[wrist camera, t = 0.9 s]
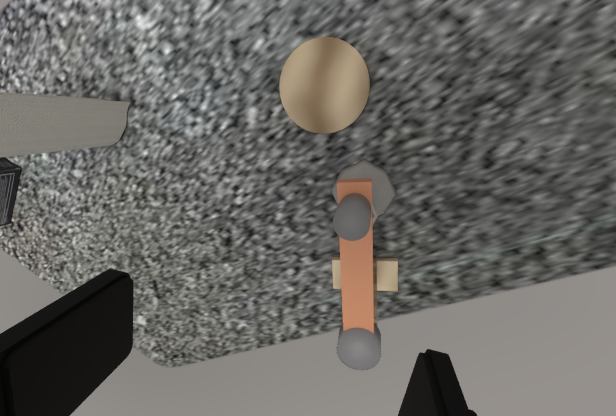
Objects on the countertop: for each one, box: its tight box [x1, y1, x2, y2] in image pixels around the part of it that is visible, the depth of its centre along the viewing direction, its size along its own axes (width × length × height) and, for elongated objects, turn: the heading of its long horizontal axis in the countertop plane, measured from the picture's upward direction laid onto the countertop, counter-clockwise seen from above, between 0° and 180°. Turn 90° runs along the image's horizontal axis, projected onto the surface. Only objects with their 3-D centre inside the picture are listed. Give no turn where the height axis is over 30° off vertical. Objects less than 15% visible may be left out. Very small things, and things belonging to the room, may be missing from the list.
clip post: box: [332, 257, 398, 326], centre depth 35 cm, size 8×4×13 cm, turn 94°
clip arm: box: [333, 178, 381, 370], centre depth 25 cm, size 4×16×5 cm, turn 4°
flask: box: [331, 159, 396, 225], centre depth 34 cm, size 7×7×10 cm
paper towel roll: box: [0, 92, 131, 158], centre depth 33 cm, size 7×6×21 cm
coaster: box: [280, 37, 370, 134], centre depth 36 cm, size 10×10×1 cm
